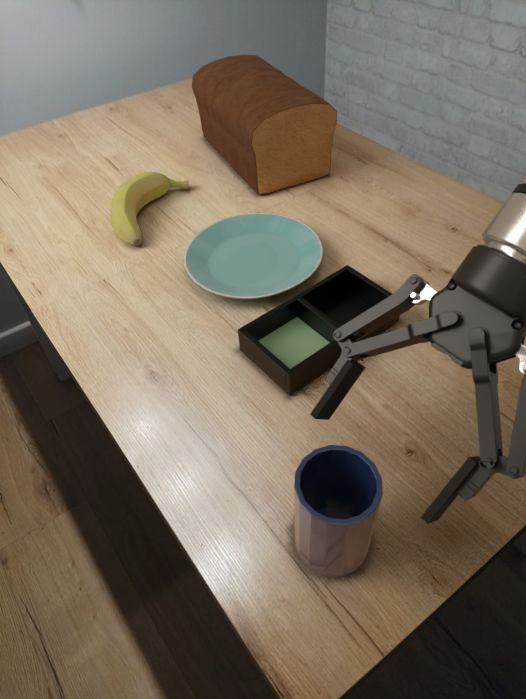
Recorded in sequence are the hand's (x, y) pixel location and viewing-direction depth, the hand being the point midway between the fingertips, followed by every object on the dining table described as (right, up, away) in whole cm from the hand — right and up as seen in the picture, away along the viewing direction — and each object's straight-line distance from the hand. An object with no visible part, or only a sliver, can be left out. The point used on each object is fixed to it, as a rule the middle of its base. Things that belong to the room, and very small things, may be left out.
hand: (369, 464), depth 47 cm
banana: (-30, +36, +49) cm, 68 cm away
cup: (-3, -9, +5) cm, 11 cm away
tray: (-2, +12, +25) cm, 28 cm away
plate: (-11, +24, +37) cm, 46 cm away
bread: (-10, +51, +62) cm, 81 cm away
